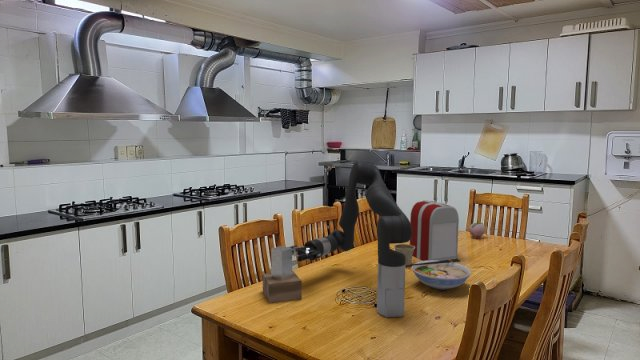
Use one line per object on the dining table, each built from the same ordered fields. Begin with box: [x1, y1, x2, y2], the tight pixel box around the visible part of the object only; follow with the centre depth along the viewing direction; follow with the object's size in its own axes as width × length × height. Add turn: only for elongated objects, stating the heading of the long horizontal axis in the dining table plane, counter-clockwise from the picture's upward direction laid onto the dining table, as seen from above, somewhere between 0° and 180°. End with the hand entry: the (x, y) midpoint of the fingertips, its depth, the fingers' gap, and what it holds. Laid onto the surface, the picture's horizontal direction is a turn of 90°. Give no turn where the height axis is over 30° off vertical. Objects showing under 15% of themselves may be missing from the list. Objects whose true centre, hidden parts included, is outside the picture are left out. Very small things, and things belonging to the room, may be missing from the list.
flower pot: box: [393, 243, 415, 267], centre depth 202 cm, size 9×9×9 cm
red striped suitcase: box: [409, 199, 460, 261], centre depth 214 cm, size 16×18×27 cm
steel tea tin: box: [270, 245, 293, 280], centre depth 164 cm, size 5×5×11 cm
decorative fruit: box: [468, 220, 486, 239], centre depth 253 cm, size 9×8×10 cm
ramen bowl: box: [405, 258, 472, 291], centre depth 175 cm, size 25×23×8 cm
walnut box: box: [262, 270, 303, 304], centre depth 165 cm, size 12×12×7 cm
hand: (290, 256), depth 167 cm, fingers open, 8 cm apart
